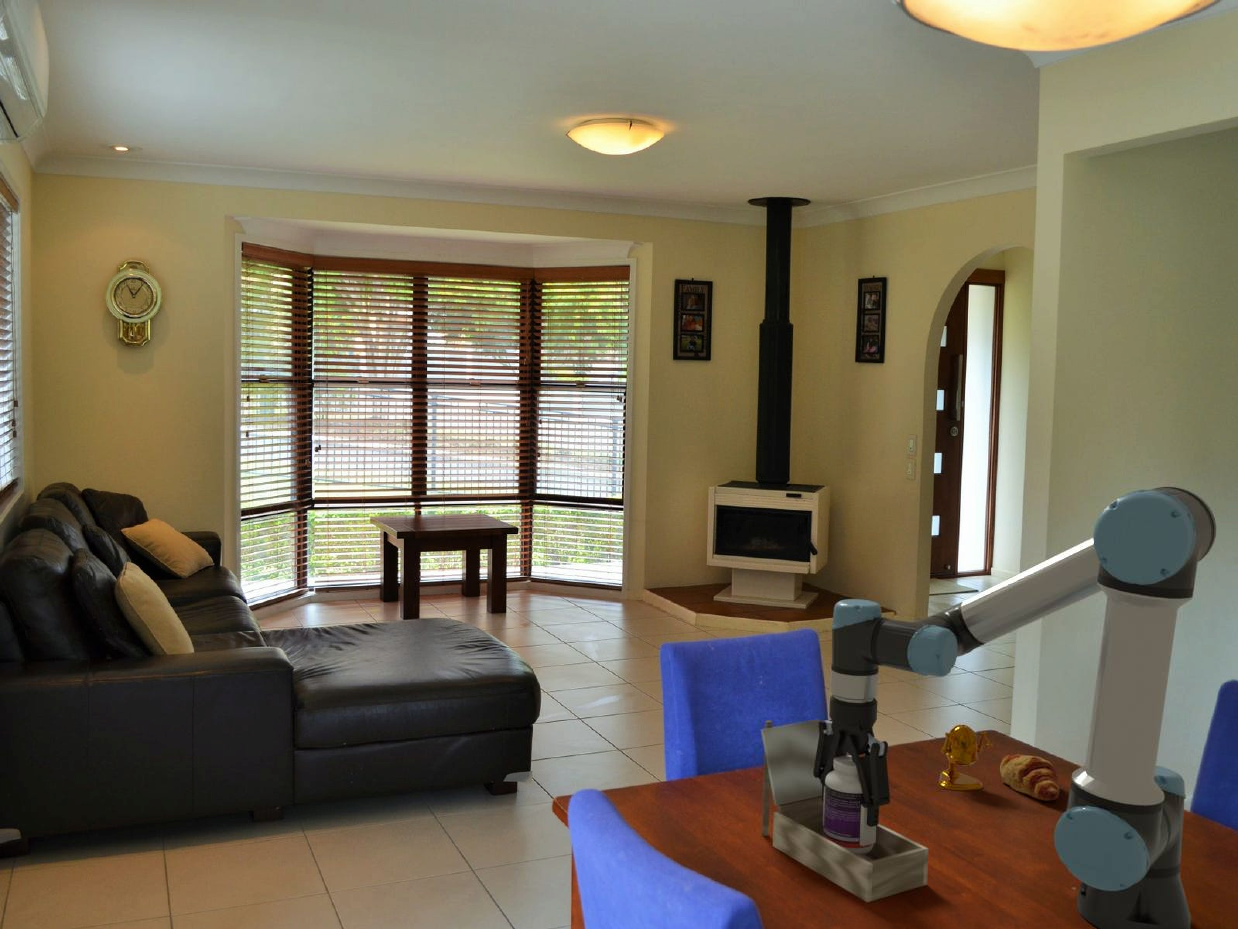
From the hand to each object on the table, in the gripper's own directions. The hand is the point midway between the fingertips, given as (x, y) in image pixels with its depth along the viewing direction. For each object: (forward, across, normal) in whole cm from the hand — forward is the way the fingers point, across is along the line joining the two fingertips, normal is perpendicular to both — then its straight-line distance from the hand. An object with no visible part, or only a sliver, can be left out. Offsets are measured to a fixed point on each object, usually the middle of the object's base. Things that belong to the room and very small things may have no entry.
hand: (848, 833), depth 175 cm
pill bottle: (+3, 0, 0) cm, 3 cm away
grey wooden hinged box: (+5, +3, 0) cm, 6 cm away
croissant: (+6, +10, -57) cm, 58 cm away
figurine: (+5, +18, -46) cm, 49 cm away
